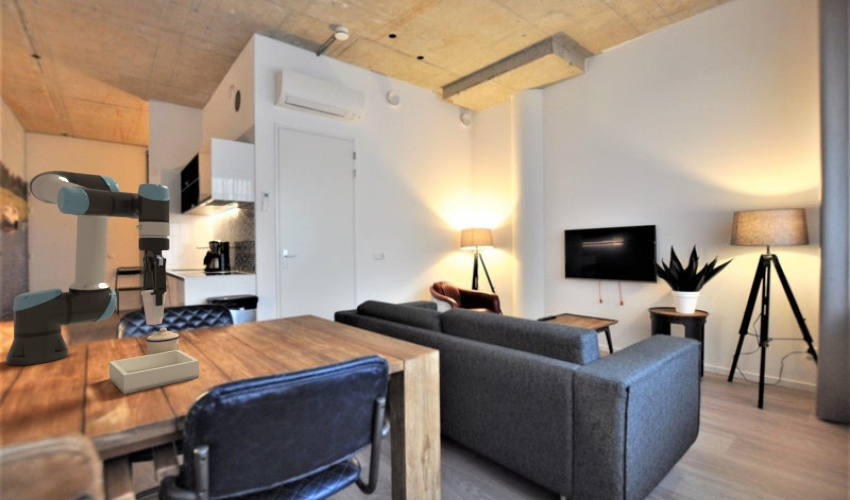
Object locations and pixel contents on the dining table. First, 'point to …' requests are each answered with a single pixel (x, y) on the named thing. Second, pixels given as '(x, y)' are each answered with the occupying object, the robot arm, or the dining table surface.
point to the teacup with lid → (162, 342)
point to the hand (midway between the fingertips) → (154, 315)
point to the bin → (152, 370)
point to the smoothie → (150, 308)
